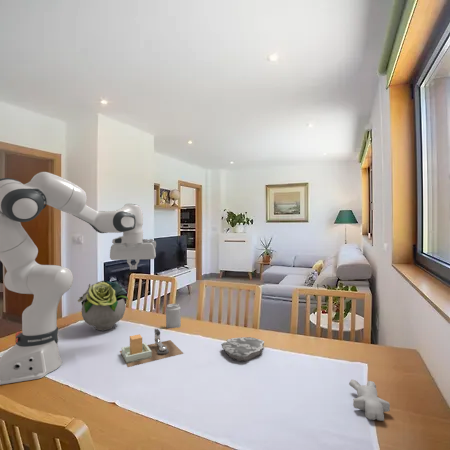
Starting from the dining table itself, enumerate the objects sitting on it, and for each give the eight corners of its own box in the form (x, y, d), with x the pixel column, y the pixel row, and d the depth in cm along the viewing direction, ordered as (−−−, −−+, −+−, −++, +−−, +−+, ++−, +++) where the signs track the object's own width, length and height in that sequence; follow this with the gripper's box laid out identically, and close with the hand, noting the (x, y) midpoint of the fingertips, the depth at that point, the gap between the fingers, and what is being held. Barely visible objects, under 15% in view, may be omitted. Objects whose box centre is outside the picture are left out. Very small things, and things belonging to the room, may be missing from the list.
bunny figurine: (357, 407, 80) (346, 373, 94) (357, 424, 80) (345, 387, 95) (395, 411, 78) (377, 375, 92) (395, 428, 78) (377, 390, 93)
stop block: (142, 355, 117) (142, 337, 117) (132, 357, 115) (131, 339, 115) (139, 351, 120) (139, 334, 120) (129, 353, 118) (129, 336, 118)
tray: (126, 363, 111) (126, 356, 111) (121, 353, 119) (121, 347, 119) (151, 357, 116) (151, 351, 116) (145, 348, 124) (145, 342, 124)
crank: (167, 350, 119) (167, 336, 119) (160, 352, 118) (160, 338, 118) (159, 341, 129) (159, 328, 129) (152, 342, 127) (152, 330, 127)
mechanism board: (127, 371, 108) (127, 364, 108) (119, 354, 122) (119, 348, 122) (183, 357, 119) (183, 350, 119) (170, 343, 133) (170, 337, 133)
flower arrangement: (78, 324, 159) (77, 279, 159) (126, 317, 170) (126, 275, 170) (76, 340, 137) (76, 288, 137) (132, 331, 147) (131, 283, 147)
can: (173, 331, 147) (172, 307, 147) (163, 328, 152) (162, 305, 152) (183, 327, 153) (183, 304, 153) (173, 324, 158) (173, 302, 158)
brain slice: (235, 340, 136) (235, 334, 136) (269, 348, 128) (269, 341, 128) (212, 357, 119) (212, 349, 119) (250, 367, 111) (250, 359, 111)
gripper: (156, 238, 140) (157, 267, 140) (112, 239, 138) (112, 268, 138) (155, 239, 134) (155, 269, 134) (108, 239, 131) (108, 270, 131)
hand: (133, 269), depth 136 cm, fingers closed
